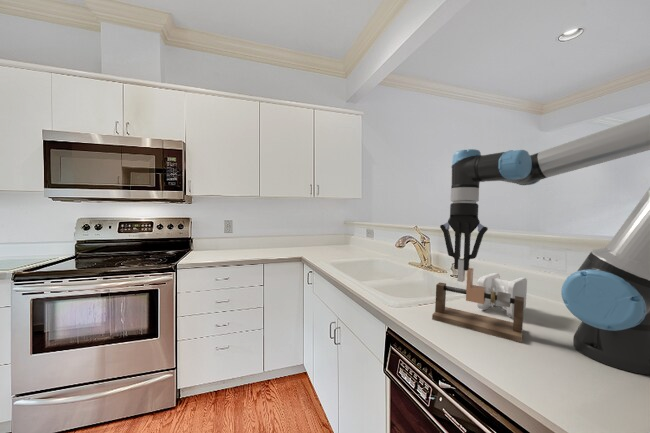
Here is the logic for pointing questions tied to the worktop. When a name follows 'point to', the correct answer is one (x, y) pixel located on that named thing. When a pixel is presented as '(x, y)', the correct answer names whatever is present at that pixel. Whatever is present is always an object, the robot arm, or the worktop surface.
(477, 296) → the tan wooden l-shaped block
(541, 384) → the worktop surface
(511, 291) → the cable organizer
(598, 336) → the robot arm
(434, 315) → the brown rod stand
